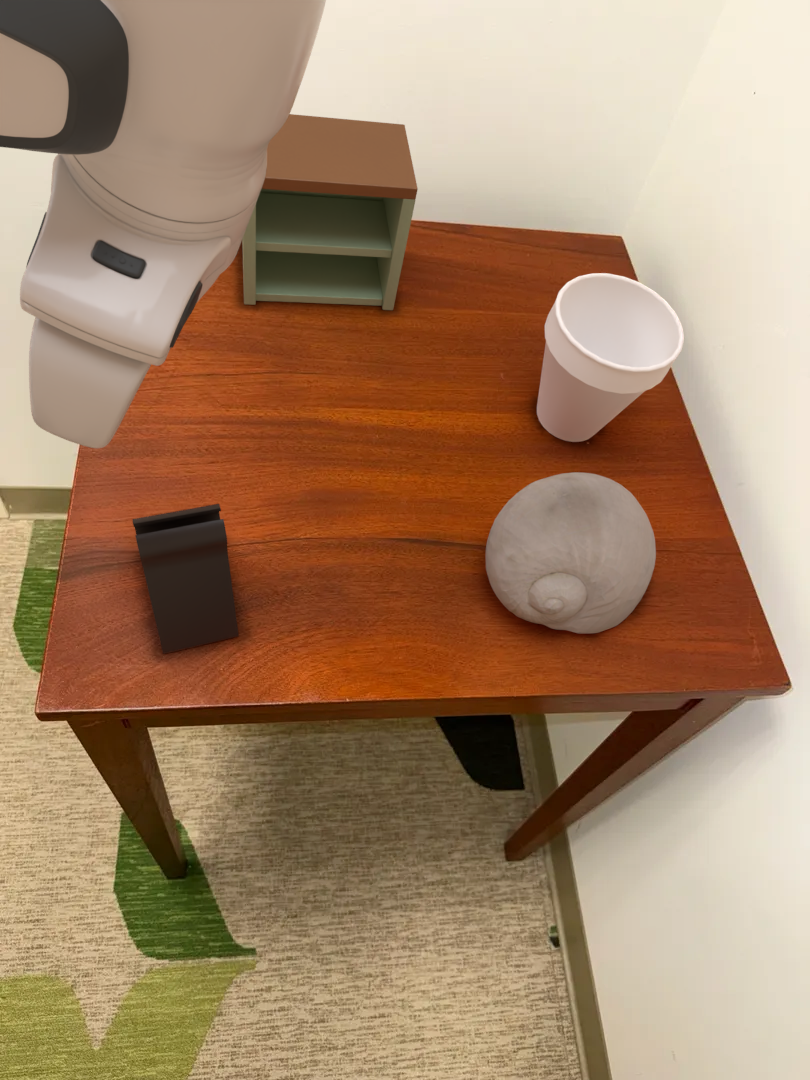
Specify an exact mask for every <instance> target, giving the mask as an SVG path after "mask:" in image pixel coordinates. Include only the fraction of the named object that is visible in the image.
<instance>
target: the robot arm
mask: <svg viewBox="0 0 810 1080" xmlns="http://www.w3.org/2000/svg"><path fill="white" fill-rule="evenodd" d="M326 3H327V0H0V148H6V149H15V150H16V149H17V150H21V151H22V150H23V151H29V152H39V153H46V154H55V155H56V154H57V155H56V156H55V157H54V159H53V162H52V168H51V169H52V170H51V184H50V185H51V186H50V196H49V201H48V206H47V209H46V211H45V213H44V215H43V217H42V221H41V223H40V227H39V230H38V233H37V236H36V239H35V241H34V244H33V246H32V249H31V250H30V254H29V257H28V259H27V261H26V266H25V270H24V272H23V275H22V278H21V281H20V286H19V287H20V288H19V304H20V307H21V309H22V311H23V312H26V313H27V314H29V315H31V316H33V317H34V319H33V320H34V321H33V325H32V329H31V335H30V340H29V351H28V388H29V402H30V403H29V404H30V413H31V417H32V420H33V422H34V423H35V425H36V426H38V428H40V429H42V430H43V431H45V432H46V433H49V434H52V435H53V436H56V437H58V438H60V439H63V440H66V441H68V442H71V443H74V444H77V445H80V446H83V447H87V448H90V449H103V448H105V447H106V446H109V444H110V443H111V441H112V440H113V438H114V437H115V435H116V433H117V432H118V430H119V428H120V426H121V424H122V422H123V420H124V418H125V416H126V415H127V413H128V411H129V408H130V406H131V404H132V402H133V401H134V399H135V397H136V395H137V394H138V391H139V390H140V387H141V385H142V383H143V381H144V380H145V377H146V375H147V373H148V372H149V370H150V368H151V366H156V367H160V366H162V365H163V364H164V363H165V362H166V359H167V357H168V355H169V353H170V351H171V349H172V348H174V346H175V345H176V342H177V340H178V338H179V336H180V334H181V332H182V330H183V328H184V326H185V325H186V322H187V321H188V319H189V318H190V317H191V314H192V313H193V311H194V309H195V307H196V305H197V303H198V302H199V301H200V300H201V298H203V296H204V295H205V294H206V293H207V292H208V291H209V290H210V289H211V287H212V286H213V285H214V284H215V283H216V281H217V280H218V278H219V277H220V276H221V274H223V273H224V272H225V271H226V270H227V269H228V268H229V267H230V266H231V265H232V263H233V262H234V260H235V259H236V256H237V255H238V253H239V250H240V247H241V245H242V239H243V236H244V234H245V231H246V228H247V226H248V223H249V221H250V218H251V215H252V213H253V210H254V208H255V205H256V202H257V200H258V197H259V194H260V191H261V189H262V186H263V183H264V180H265V175H266V169H267V147H268V144H269V142H270V140H271V139H272V138H273V137H274V136H275V135H276V134H277V133H278V131H279V130H280V129H281V127H282V126H283V125H284V123H285V122H286V120H287V118H288V116H289V114H291V112H292V108H293V107H294V105H295V101H296V98H297V96H298V93H299V90H300V87H301V84H302V81H303V78H304V76H305V72H306V70H307V66H308V64H309V61H310V58H311V55H312V51H313V49H314V45H315V42H316V39H317V35H318V32H319V29H320V25H321V21H322V17H323V14H324V10H325V6H326Z"/></svg>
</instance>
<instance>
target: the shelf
mask: <svg viewBox="0 0 810 1080" xmlns="http://www.w3.org/2000/svg"><path fill="white" fill-rule="evenodd" d="M409 144H410V143H409V140H408V135H407V129H406V124H401V123H390V122H381V121H372V120H371V121H369V120H359V119H349V118H348V119H347V118H338V117H337V118H336V117H325V116H317V115H316V116H315V115H304V114H293V113H290V114H289V116H288V118H287V120H286V122H285V123H284V125H283V126H282V127H281V129H280V130H279V131H278V133H277V134H276V135H275V136H274V137H273V138H272V139H271V140H270V142H269V144H268V147H267V169H266V175H265V180H264V183H263V186H262V189H261V191H260V194H259V197H258V200H257V202H256V205H255V208H254V210H253V213H252V215H251V218H250V221H249V223H248V226H247V228H246V231H245V234H244V236H243V239H242V242H241V247H242V276H243V277H242V279H243V284H242V285H243V304H244V305H250V306H251V305H254V306H255V305H257V302H277V303H278V302H279V303H303V304H325V305H326V304H327V305H352V306H353V305H354V306H375V307H381V309H382V311H394V307H395V302H396V298H397V292H398V287H399V283H400V279H401V272H402V269H403V263H404V258H405V253H406V249H407V243H408V240H409V239H408V238H409V234H410V230H411V226H412V225H411V224H412V220H413V215H414V211H415V210H414V209H415V204H416V199H417V194H418V190H419V188H418V183H417V179H416V174H415V170H414V164H413V160H412V156H411V155H412V154H411V150H410V149H411V148H410V145H409Z"/></svg>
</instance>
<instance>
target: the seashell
mask: <svg viewBox="0 0 810 1080" xmlns="http://www.w3.org/2000/svg"><path fill="white" fill-rule="evenodd" d="M656 559H657V548H656V538H655V534H654V529H653V527H652V524H651V522H650V519H649V517H648V514H647V513H646V512H645V510H644V508H643V507H642V505H641V503H639V501H638V500H637V498H636V497H635V495H633V493H632V492H631V491H630V490H628V489H627V488H625V487H624V486H623V485H622V484H620V483H618V482H617V481H616V480H613V479H611V478H609V477H607V476H603V475H600V474H596V473H591V472H580V471H578V472H577V471H576V472H575V471H573V472H565V473H559V474H554V475H550V476H548V477H544V478H541V479H538V480H535V481H533V482H531V483H529V484H527V485H526V486H525V487H523V488H522V489H520V490H519V491H518V492H516V493H515V494H514V495H513V496H512V497H511V498H510V499H508V501H507V502H506V504H504V505H503V507H502V508H501V510H500V511H499V512H498V514H497V515H496V517H495V518H494V521H493V523H492V525H491V528H490V529H489V534H488V536H487V539H486V546H485V571H486V574H487V578H488V581H489V584H490V586H491V589H492V591H493V593H494V594H495V596H496V597H497V599H498V600H499V602H500V603H501V604H502V605H503V606H504V607H505V608H506V609H507V610H508V612H511V613H512V614H513V615H515V616H516V617H517V618H519V619H522V620H524V621H526V622H529V623H532V624H537V625H538V624H539V625H543V626H546V627H547V628H548V629H552V630H555V631H557V630H558V631H568V632H572V633H576V634H578V635H579V634H599V633H601V632H603V631H606V630H609V629H612V628H616V627H617V626H618V625H619V624H621V623H622V622H623V621H624V620H626V619H627V618H628V617H629V616H630V615H631V613H633V611H634V610H635V608H636V607H637V606H638V605H639V603H640V602H641V600H642V599H643V597H644V595H645V593H646V591H647V590H648V586H649V585H650V582H651V580H652V577H653V573H654V569H655V566H656Z"/></svg>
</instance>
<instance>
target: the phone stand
mask: <svg viewBox="0 0 810 1080" xmlns="http://www.w3.org/2000/svg"><path fill="white" fill-rule="evenodd" d="M220 512H222V509H221V504H220V503H215V504H208V505H203V506H197V507H192V508H187V509H181V510H175V511H170V512H164V513H159V514H152V515H146V516H142V517H136V518H132V520H131V521H132V526H133V528H134V531H135V536H134V537H135V541H136V545H137V550H138V554H139V558H140V562H141V566H142V571H143V574H144V577H145V583H146V586H147V587H146V588H147V591H148V596H149V599H150V604H151V609H152V612H153V617H154V622H155V626H156V630H157V633H158V638H159V639H158V640H159V643H160V647H161V651H162V654H169V653H174V652H179V651H181V650H185V649H191V648H194V647H199V646H203V645H207V644H208V645H209V644H212V643H216V642H221V641H224V640H229V639H232V638H238V637H239V636H240V635H239V628H238V620H237V612H236V603H235V598H234V589H233V582H232V576H231V566H230V560H229V559H230V558H229V551H228V535H227V530H226V525H225V519H224V518H221V515H220Z"/></svg>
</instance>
